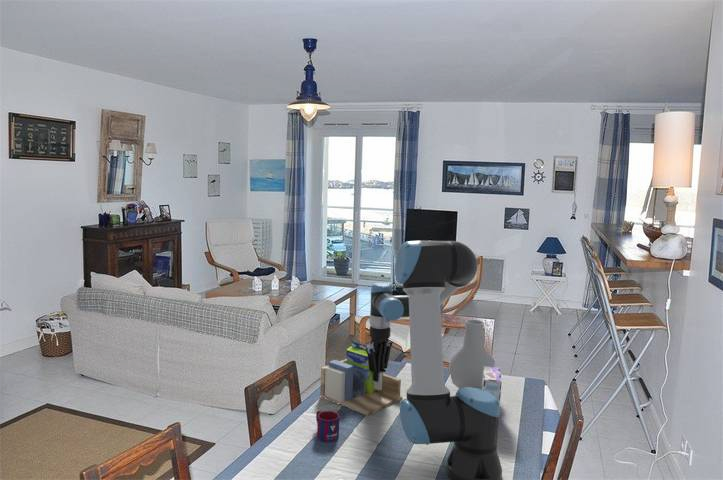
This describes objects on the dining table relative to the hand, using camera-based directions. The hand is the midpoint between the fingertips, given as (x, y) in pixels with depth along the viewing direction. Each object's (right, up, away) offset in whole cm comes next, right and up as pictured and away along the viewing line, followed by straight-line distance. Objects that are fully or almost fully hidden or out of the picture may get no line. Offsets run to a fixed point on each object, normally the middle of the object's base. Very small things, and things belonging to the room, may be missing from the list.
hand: (377, 388), depth 203 cm
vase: (+35, -4, +5) cm, 35 cm away
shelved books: (-14, -2, -4) cm, 15 cm away
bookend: (-10, -1, 0) cm, 10 cm away
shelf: (-6, -3, -1) cm, 7 cm away
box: (-5, -1, +4) cm, 7 cm away
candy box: (+37, -6, -15) cm, 41 cm away
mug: (-17, -6, -30) cm, 35 cm away
